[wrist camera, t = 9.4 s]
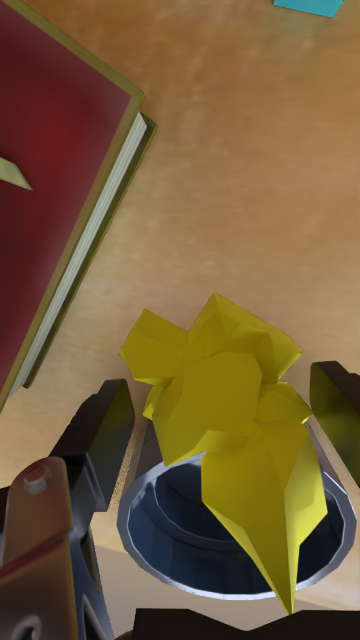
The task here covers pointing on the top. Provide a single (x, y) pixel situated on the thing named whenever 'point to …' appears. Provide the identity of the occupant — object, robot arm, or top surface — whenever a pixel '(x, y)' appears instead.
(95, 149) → the hardcover book
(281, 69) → the top surface
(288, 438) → the yellow faceted lump
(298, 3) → the chart
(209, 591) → the bowl
